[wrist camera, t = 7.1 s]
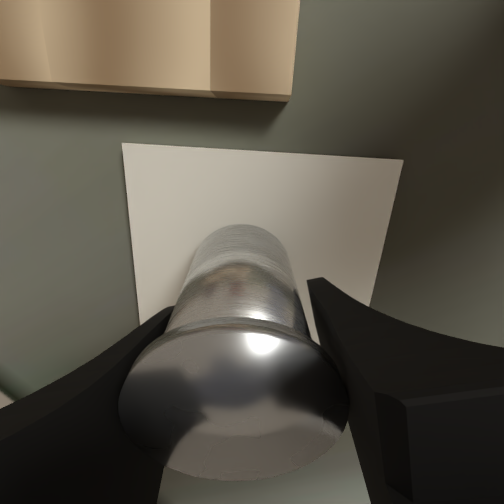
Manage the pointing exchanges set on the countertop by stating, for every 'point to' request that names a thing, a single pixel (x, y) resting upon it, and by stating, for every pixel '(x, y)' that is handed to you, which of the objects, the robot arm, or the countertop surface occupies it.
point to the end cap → (235, 370)
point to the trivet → (257, 214)
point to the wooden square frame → (151, 46)
